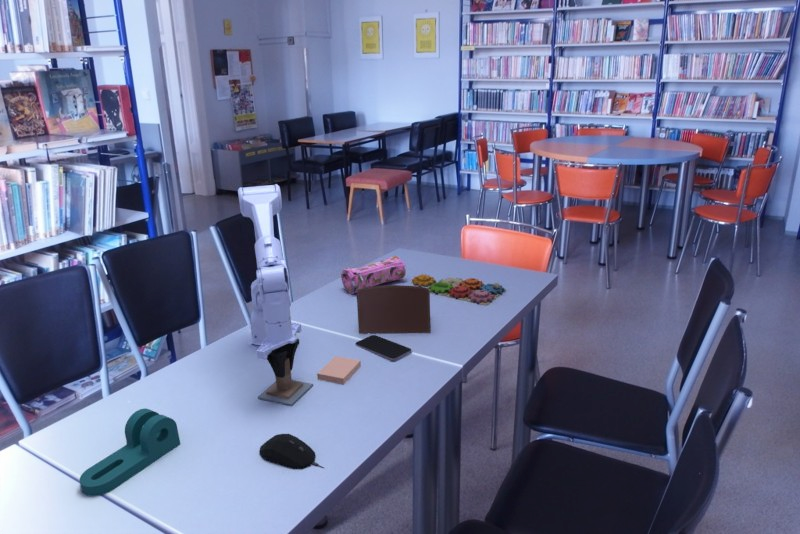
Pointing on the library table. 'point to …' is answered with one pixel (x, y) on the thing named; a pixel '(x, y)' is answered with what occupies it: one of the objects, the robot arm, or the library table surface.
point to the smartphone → (383, 348)
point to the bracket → (132, 452)
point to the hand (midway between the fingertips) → (283, 373)
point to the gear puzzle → (462, 288)
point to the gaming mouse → (288, 452)
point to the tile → (339, 370)
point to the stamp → (285, 384)
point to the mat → (282, 400)
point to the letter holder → (393, 309)
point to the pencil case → (373, 274)
